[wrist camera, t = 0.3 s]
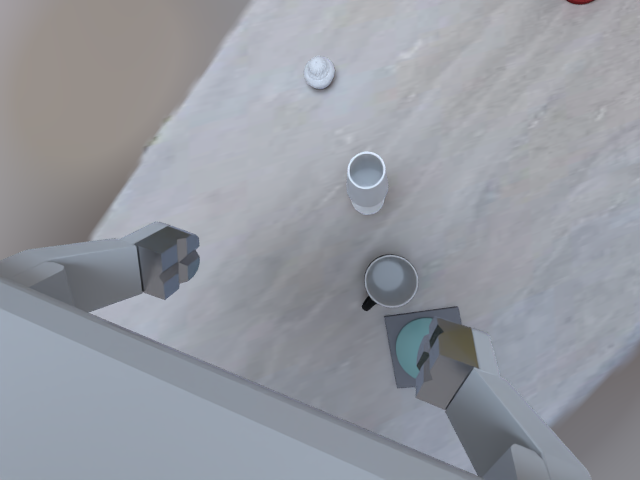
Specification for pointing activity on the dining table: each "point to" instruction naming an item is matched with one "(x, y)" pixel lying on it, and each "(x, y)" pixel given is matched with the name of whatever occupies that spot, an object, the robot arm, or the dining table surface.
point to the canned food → (579, 1)
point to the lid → (411, 343)
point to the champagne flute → (367, 182)
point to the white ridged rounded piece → (319, 72)
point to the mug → (390, 282)
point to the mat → (398, 322)
